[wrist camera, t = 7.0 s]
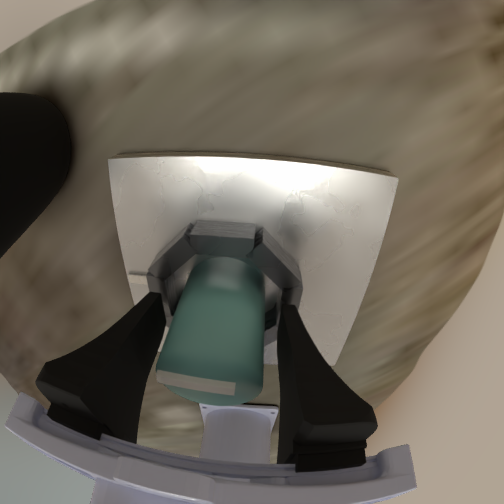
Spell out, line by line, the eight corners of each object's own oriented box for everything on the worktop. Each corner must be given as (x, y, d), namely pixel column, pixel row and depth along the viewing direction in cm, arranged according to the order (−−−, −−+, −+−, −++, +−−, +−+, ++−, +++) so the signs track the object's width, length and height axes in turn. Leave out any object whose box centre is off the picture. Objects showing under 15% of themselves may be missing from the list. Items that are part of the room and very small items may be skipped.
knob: (271, 262, 14) (271, 365, 9) (259, 322, 16) (255, 415, 11) (186, 252, 14) (145, 346, 9) (188, 312, 16) (161, 401, 11)
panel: (332, 353, 20) (337, 381, 17) (153, 338, 20) (142, 365, 18) (389, 171, 12) (412, 188, 10) (119, 153, 13) (91, 167, 10)
